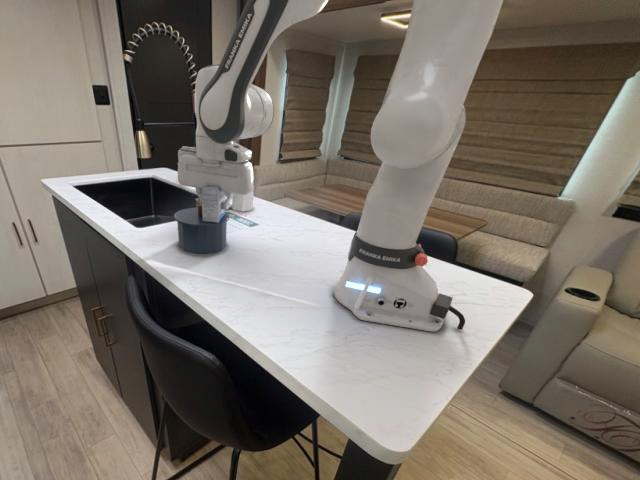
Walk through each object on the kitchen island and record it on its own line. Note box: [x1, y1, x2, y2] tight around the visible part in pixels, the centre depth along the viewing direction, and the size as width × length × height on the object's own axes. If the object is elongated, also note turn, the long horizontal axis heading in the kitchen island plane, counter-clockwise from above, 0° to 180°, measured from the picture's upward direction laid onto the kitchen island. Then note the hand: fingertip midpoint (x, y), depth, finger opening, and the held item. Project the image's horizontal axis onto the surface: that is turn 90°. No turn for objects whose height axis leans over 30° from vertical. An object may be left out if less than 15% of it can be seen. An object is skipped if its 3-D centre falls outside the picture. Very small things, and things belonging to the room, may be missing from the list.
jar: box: [231, 184, 255, 213], centre depth 118 cm, size 9×8×12 cm
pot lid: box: [173, 204, 230, 227], centre depth 84 cm, size 15×15×4 cm
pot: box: [177, 221, 228, 255], centre depth 87 cm, size 13×14×8 cm
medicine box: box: [202, 186, 227, 223], centre depth 81 cm, size 8×4×9 cm, turn 168°
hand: (214, 207), depth 81 cm, fingers closed on medicine box, 5 cm apart
